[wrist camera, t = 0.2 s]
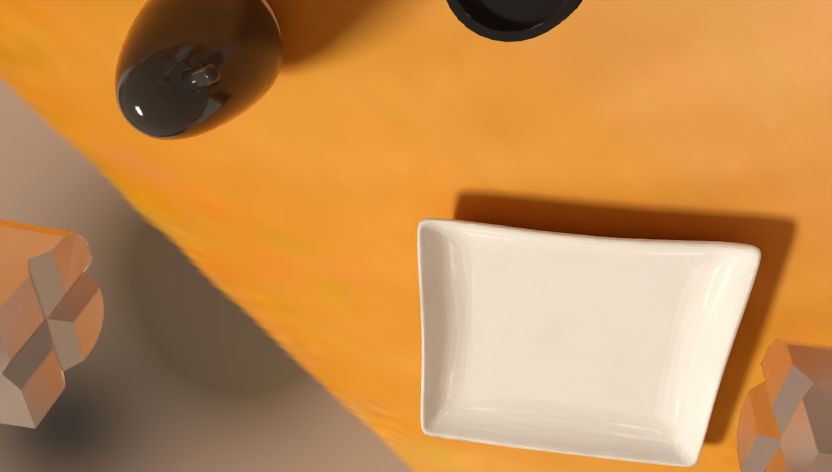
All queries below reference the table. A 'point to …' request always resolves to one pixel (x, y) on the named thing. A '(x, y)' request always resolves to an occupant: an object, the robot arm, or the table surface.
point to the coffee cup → (512, 17)
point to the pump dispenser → (196, 64)
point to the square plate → (576, 338)
